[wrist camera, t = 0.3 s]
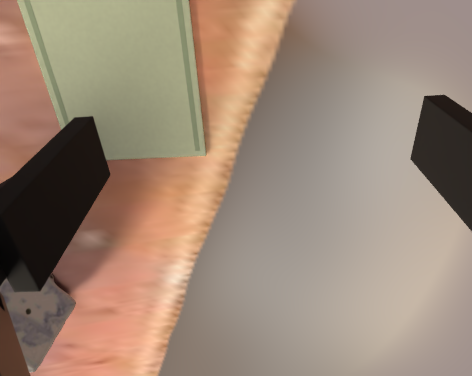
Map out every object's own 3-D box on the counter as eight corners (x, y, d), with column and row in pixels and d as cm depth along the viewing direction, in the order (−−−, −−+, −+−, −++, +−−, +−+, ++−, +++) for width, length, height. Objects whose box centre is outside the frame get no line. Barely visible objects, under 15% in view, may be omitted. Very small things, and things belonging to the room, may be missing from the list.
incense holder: (-19, 271, 46) (-80, 344, 38) (26, 248, 44) (-27, 319, 35) (38, 315, 51) (-5, 389, 42) (82, 295, 49) (46, 369, 40)
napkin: (3, -45, 28) (1, -45, 27) (182, -57, 27) (182, -57, 27) (73, 160, 37) (72, 161, 37) (206, 154, 37) (206, 155, 37)
